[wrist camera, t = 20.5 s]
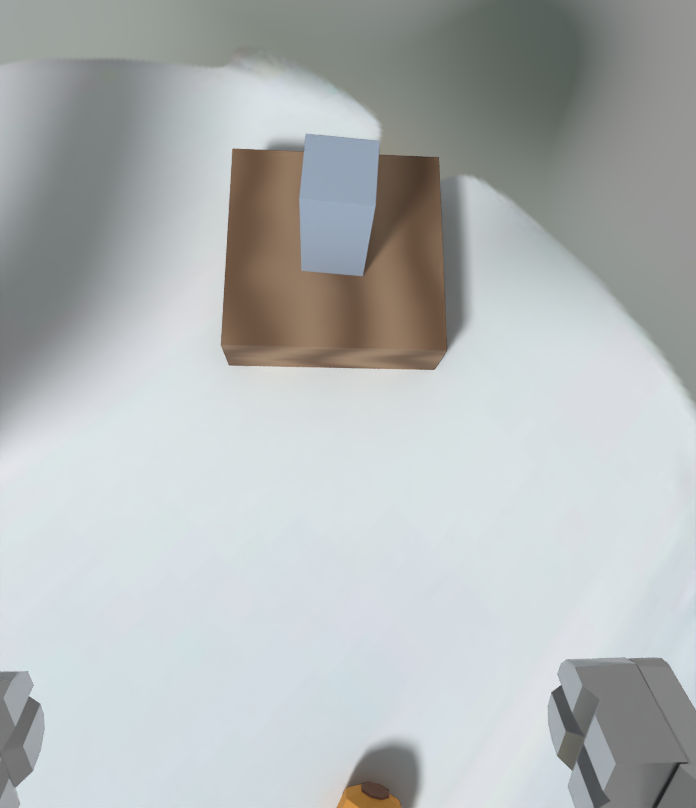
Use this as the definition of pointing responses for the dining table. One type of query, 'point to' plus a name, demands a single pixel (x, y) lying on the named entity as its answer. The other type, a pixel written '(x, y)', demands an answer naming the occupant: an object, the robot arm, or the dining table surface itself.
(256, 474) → the dining table surface
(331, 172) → the slate pillar
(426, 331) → the walnut block
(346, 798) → the carrot
